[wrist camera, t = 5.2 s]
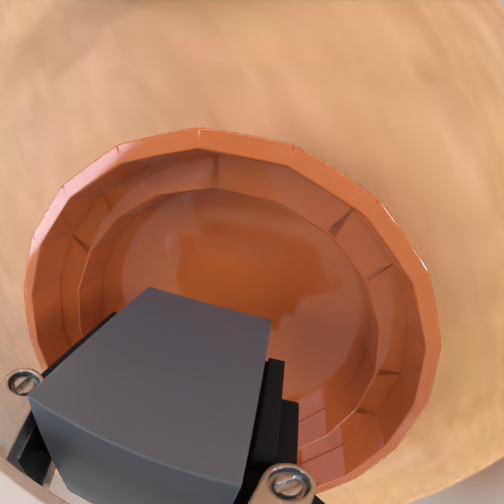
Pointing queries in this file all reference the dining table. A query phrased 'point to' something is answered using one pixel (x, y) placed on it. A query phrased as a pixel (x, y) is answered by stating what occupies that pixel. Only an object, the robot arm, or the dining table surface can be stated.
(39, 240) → the bowl
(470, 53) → the dining table surface
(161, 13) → the dining table surface
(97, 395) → the block
